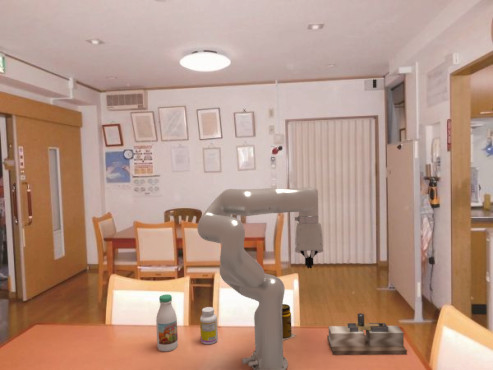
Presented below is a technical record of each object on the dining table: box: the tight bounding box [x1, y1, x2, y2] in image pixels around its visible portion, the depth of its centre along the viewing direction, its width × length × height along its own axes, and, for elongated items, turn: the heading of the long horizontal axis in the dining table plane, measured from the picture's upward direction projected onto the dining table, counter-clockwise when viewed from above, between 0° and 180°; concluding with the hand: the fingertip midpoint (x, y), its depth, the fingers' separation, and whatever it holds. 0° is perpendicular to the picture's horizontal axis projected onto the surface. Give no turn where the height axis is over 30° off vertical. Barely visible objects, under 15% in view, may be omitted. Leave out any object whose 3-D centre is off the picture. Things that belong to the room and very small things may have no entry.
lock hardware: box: [347, 322, 389, 332], centre depth 140 cm, size 14×4×2 cm, turn 88°
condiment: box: [282, 303, 297, 341], centre depth 151 cm, size 7×8×12 cm
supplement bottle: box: [199, 306, 219, 345], centre depth 148 cm, size 7×7×13 cm
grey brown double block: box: [326, 325, 408, 356], centre depth 141 cm, size 26×12×6 cm, turn 87°
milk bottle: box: [155, 293, 179, 352], centre depth 144 cm, size 8×8×20 cm
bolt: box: [356, 312, 380, 331], centre depth 140 cm, size 8×2×6 cm, turn 87°
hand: (309, 267), depth 145 cm, fingers closed
